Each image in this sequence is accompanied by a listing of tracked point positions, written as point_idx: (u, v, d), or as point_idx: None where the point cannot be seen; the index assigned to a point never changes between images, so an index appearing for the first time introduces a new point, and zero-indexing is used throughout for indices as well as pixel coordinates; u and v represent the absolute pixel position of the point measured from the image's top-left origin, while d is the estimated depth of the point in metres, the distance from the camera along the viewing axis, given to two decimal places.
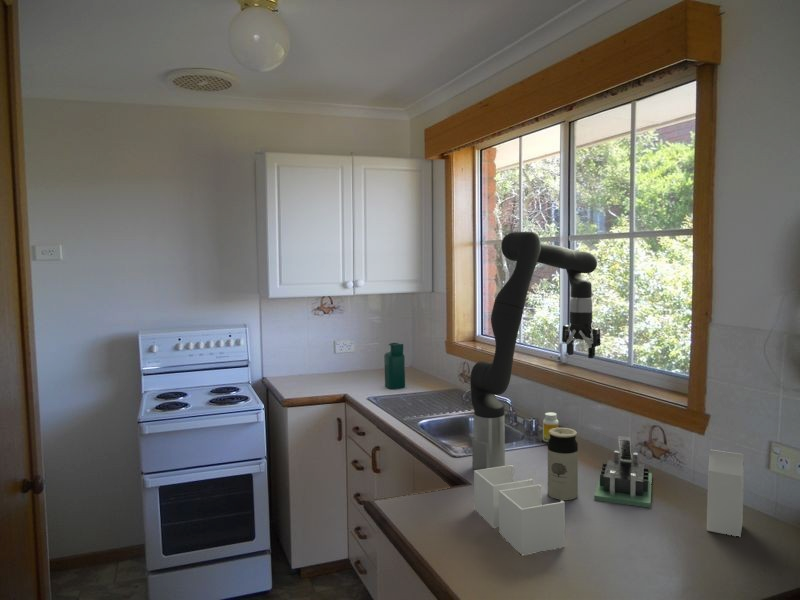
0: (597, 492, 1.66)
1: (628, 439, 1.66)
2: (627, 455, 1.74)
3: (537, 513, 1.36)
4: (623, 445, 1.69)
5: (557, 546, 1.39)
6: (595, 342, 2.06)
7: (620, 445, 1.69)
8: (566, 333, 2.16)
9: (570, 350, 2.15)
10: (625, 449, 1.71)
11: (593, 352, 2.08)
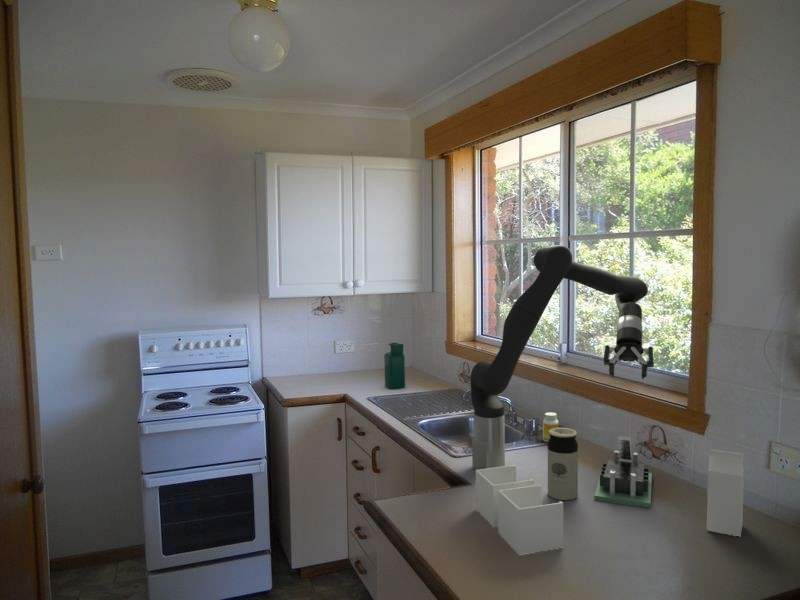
0: (597, 492, 1.66)
1: (628, 439, 1.66)
2: (627, 455, 1.74)
3: (535, 513, 1.36)
4: (623, 445, 1.69)
5: (556, 546, 1.39)
6: (652, 359, 1.82)
7: (620, 445, 1.69)
8: (608, 354, 1.89)
9: (613, 370, 1.84)
10: (625, 449, 1.71)
11: (646, 371, 1.81)
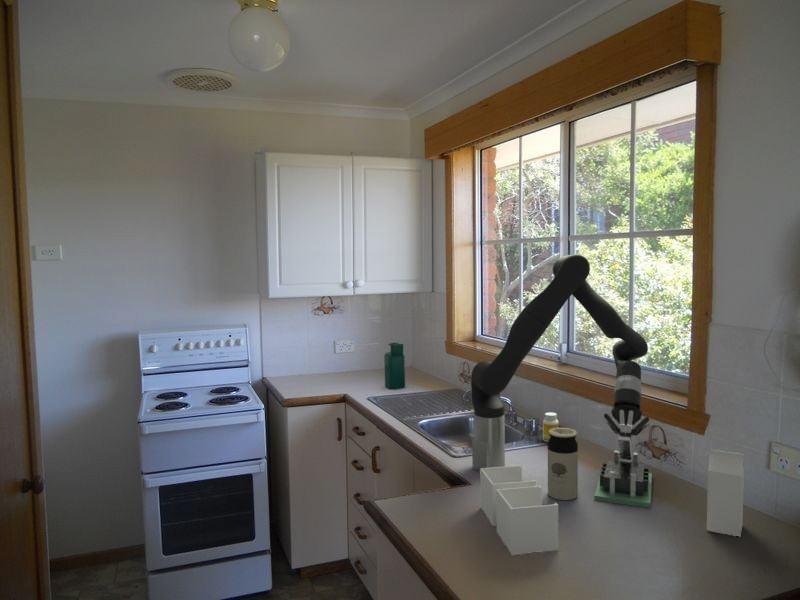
0: (597, 492, 1.66)
1: (628, 439, 1.66)
2: (627, 455, 1.74)
3: (528, 514, 1.36)
4: (623, 445, 1.69)
5: (550, 548, 1.38)
6: (638, 428, 1.73)
7: (620, 445, 1.69)
8: None
9: None
10: (625, 449, 1.71)
11: (630, 440, 1.72)
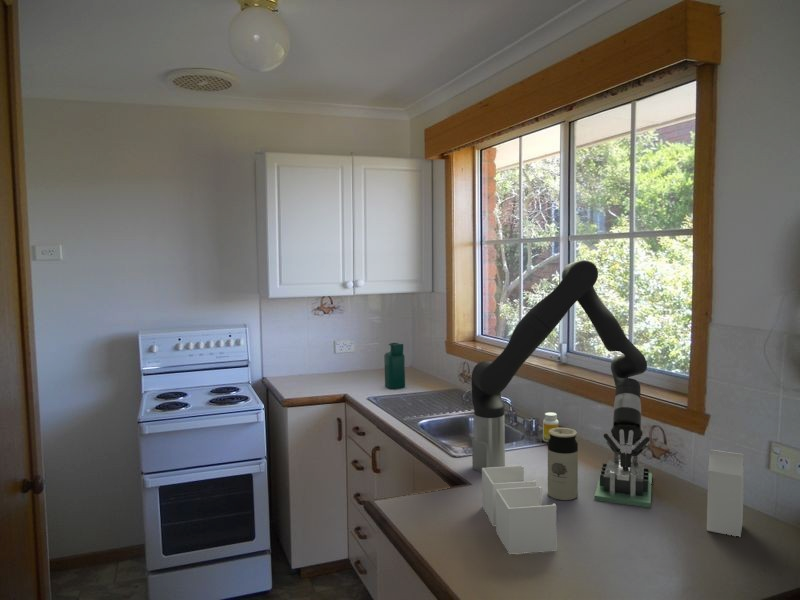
0: (597, 492, 1.66)
1: (627, 479, 1.63)
2: None
3: (526, 514, 1.36)
4: None
5: (548, 549, 1.38)
6: (638, 449, 1.69)
7: None
8: None
9: (625, 461, 1.69)
10: None
11: None
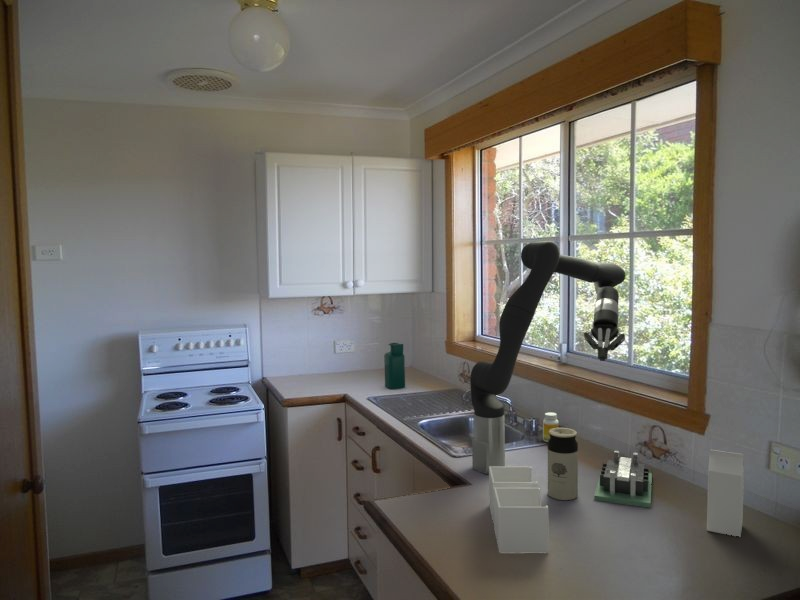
0: (597, 492, 1.66)
1: (627, 480, 1.63)
2: None
3: (516, 513, 1.36)
4: None
5: (540, 550, 1.37)
6: (614, 343, 1.89)
7: None
8: None
9: None
10: None
11: (607, 353, 1.89)
